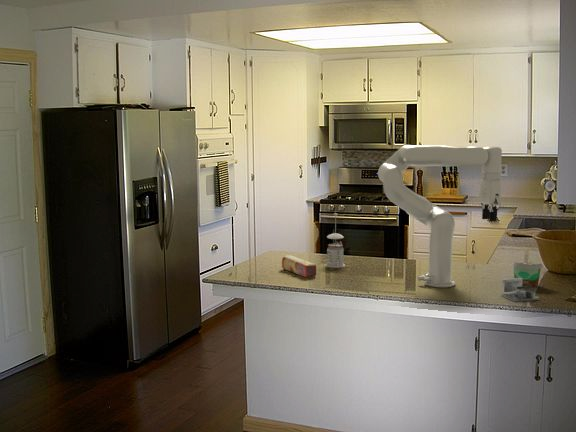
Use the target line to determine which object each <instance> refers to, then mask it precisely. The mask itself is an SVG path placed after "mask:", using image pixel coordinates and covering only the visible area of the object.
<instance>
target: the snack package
mask: <svg viewBox="0 0 576 432" xmlns="http://www.w3.org/2000/svg"><path fill="white" fill-rule="evenodd" d="M281 267H282V269H283V270H285V271H288V272H291V273H293V274H296V275H299V276H301V277H303V278H305V279H311V278H315V277H316V276H317V265H316V264H315V263H313V262H310V261H307V260H305V259H302V258H299V257H296V256H294V255H290V254H289V255H288V254H287V255H285V256H283V257H282V259H281Z"/></svg>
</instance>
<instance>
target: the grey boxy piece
mask: <svg viewBox="0 0 576 432" xmlns="http://www.w3.org/2000/svg"><path fill="white" fill-rule="evenodd" d="M525 289H533V288H532V286H522V278H514V277H513V278H512V277H511V278H502V287H501V291H502V292H503V293H515V294H516V293H517V291H520V292H522V293H524V296H526V294H527V291H528V290H525Z"/></svg>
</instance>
